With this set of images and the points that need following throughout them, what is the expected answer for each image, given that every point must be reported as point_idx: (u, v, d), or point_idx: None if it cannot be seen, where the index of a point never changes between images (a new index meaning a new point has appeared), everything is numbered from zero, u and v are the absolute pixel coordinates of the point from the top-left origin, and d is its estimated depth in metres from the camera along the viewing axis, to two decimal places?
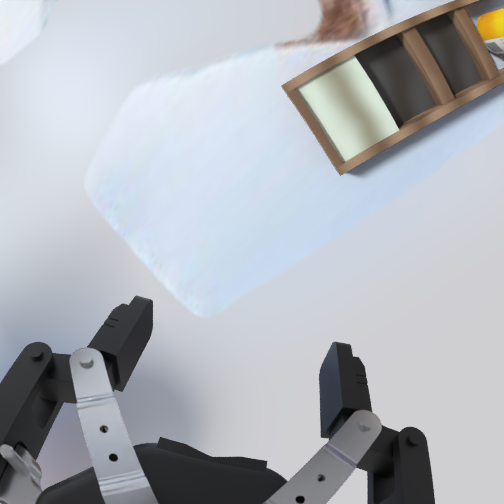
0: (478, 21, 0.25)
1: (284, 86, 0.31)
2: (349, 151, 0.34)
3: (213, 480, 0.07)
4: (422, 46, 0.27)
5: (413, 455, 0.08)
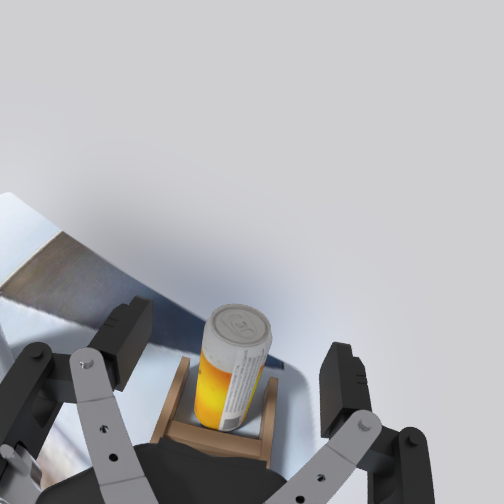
0: (197, 415, 0.33)
1: None
2: None
3: (213, 480, 0.07)
4: None
5: (413, 455, 0.08)
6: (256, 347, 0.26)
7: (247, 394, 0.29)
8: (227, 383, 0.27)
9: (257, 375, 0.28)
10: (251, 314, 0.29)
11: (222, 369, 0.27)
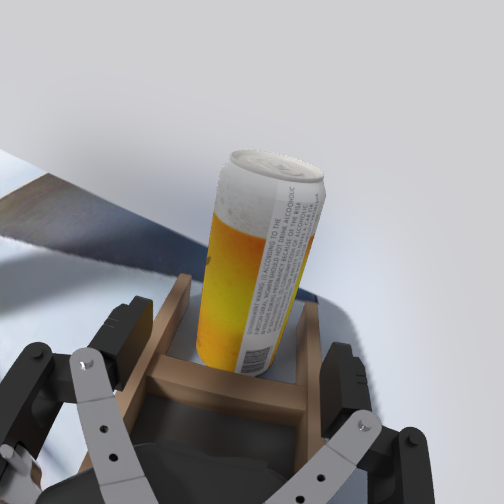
0: (200, 353, 0.22)
1: None
2: None
3: (213, 480, 0.07)
4: None
5: (413, 455, 0.08)
6: (308, 186, 0.16)
7: (286, 297, 0.19)
8: (256, 263, 0.17)
9: (303, 256, 0.18)
10: (290, 162, 0.19)
11: (250, 232, 0.16)
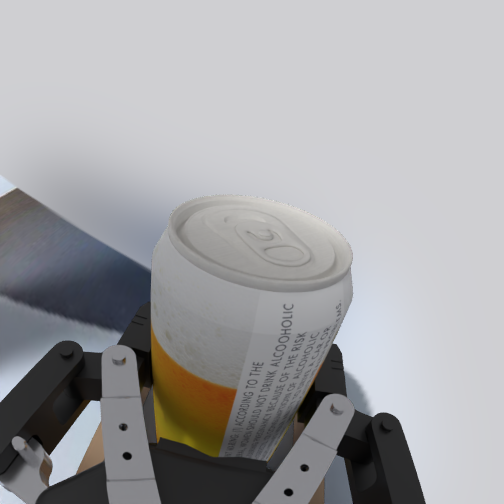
0: None
1: None
2: None
3: (213, 480, 0.07)
4: None
5: (386, 441, 0.08)
6: (323, 294, 0.08)
7: (276, 437, 0.11)
8: (222, 416, 0.09)
9: (307, 390, 0.10)
10: (288, 218, 0.11)
11: (206, 377, 0.08)
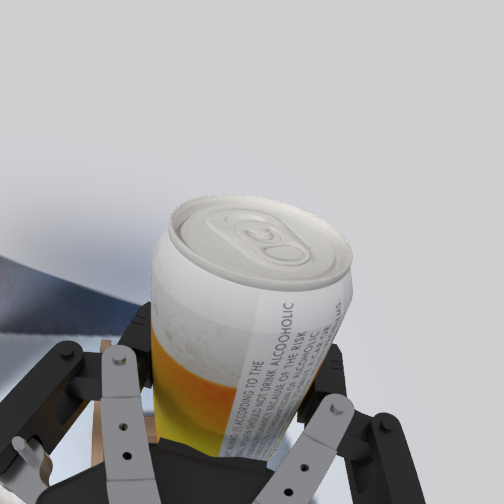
0: None
1: None
2: None
3: (213, 480, 0.07)
4: None
5: (386, 441, 0.09)
6: (323, 294, 0.08)
7: (276, 436, 0.11)
8: (222, 415, 0.09)
9: (306, 389, 0.10)
10: (288, 218, 0.11)
11: (207, 376, 0.08)
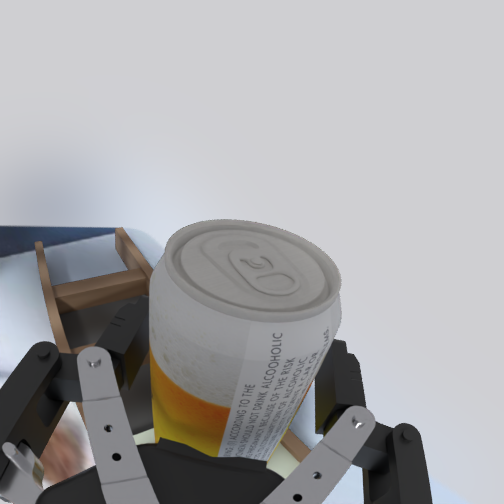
0: None
1: None
2: (286, 463, 0.18)
3: (213, 480, 0.07)
4: None
5: (407, 451, 0.08)
6: (311, 323, 0.08)
7: (269, 449, 0.11)
8: (217, 431, 0.09)
9: (298, 406, 0.10)
10: (281, 243, 0.11)
11: (202, 397, 0.08)
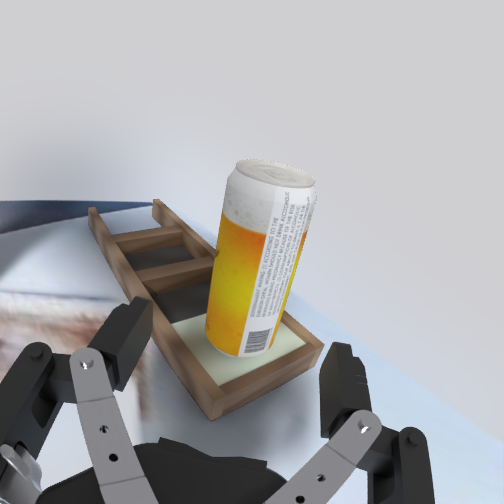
0: (209, 336, 0.26)
1: (215, 397, 0.21)
2: (292, 339, 0.29)
3: (213, 480, 0.07)
4: (156, 270, 0.35)
5: (413, 455, 0.08)
6: (300, 191, 0.19)
7: (283, 284, 0.23)
8: (258, 255, 0.21)
9: (298, 249, 0.22)
10: (287, 170, 0.23)
11: (253, 228, 0.20)
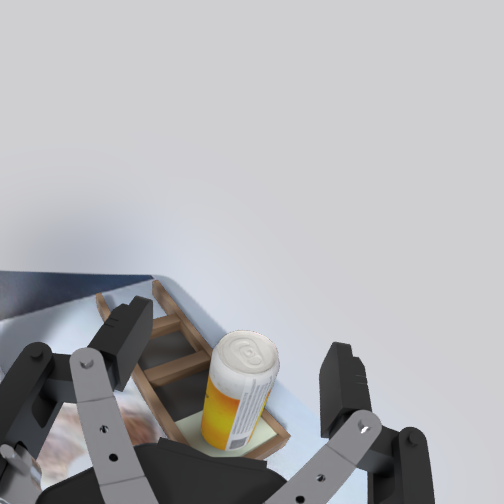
0: (203, 435, 0.32)
1: None
2: (266, 431, 0.35)
3: (213, 480, 0.07)
4: (160, 368, 0.41)
5: (413, 455, 0.08)
6: (264, 375, 0.26)
7: (255, 417, 0.29)
8: (235, 408, 0.27)
9: (264, 400, 0.28)
10: (258, 340, 0.29)
11: (231, 396, 0.26)
